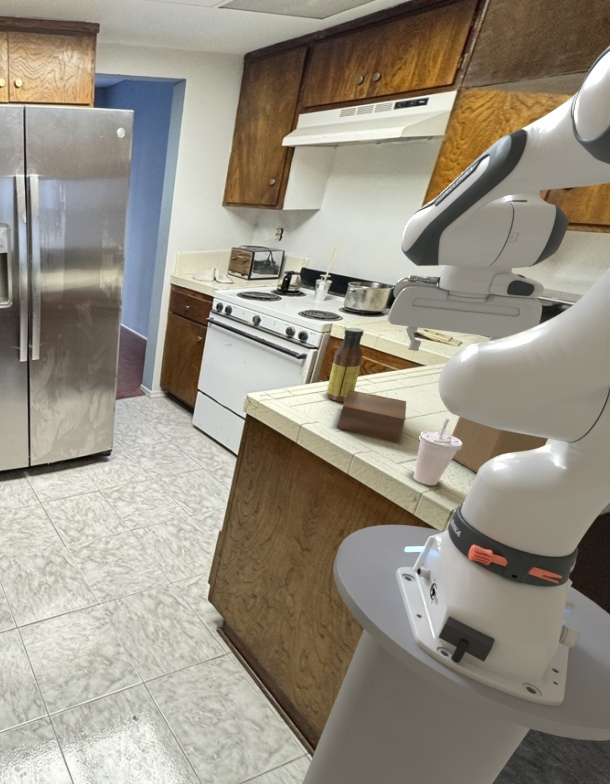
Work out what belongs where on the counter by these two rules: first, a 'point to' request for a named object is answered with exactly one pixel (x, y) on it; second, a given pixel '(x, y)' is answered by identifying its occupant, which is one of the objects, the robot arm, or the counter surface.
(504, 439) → the wooden block
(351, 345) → the sauce bottle
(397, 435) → the walnut block
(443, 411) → the counter surface
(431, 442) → the smoothie
